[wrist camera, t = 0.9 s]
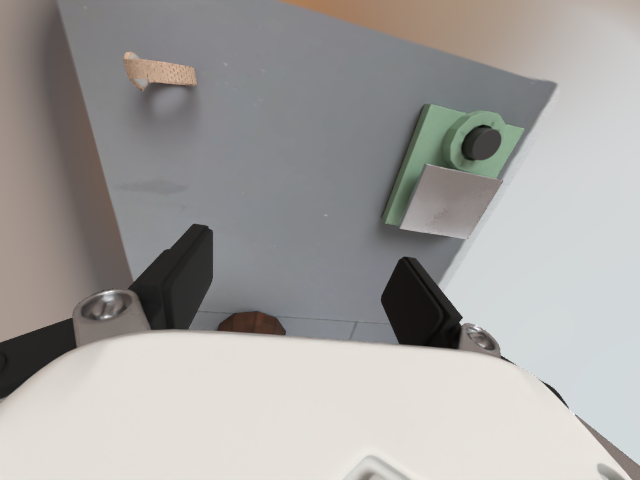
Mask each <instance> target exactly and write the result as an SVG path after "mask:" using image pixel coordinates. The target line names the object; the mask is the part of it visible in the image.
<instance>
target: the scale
mask: <svg viewBox="0 0 640 480" xmlns="http://www.w3.org/2000/svg"><path fill="white" fill-rule="evenodd" d="M477 128H488V129H495V130H497V131H499V132H500V134H501V138H502V139H501V145H500V147H499V149H498V150H497V152H496V153H495V154H494V155H493V156H492V157H490V158H488V159H486V160H476V159H473V158H469V157H467V156H465V155H464V154H463V151H462V144H463V141H464V139H465V137H466V136H467V135H468V134H469V133H470V132H471V131H473V130H474V129H477ZM523 131H524V129H523V128H519V127H515V126H511V125H508V124H505V123H504V122H503V120H502V118H501V116H500V115H499V114H496V113H492V112H489V111H474V112H472V113H469V114H466V113H463V112H459V111H455V110H451V109H448V108H444V107H440V106H436V105H433V104H425V105H424V107H423V110H422V112H421V115H420V118H419V120H418V123H417V126H416V128H415V131H414V134H413V137H412V139H411V142H410V145H409V147H408V150H407V153H406V155H405V158H404V161H403V163H402V166H401V169H400V171H399V174H398V177H397V179H396V182H395V185H394V187H393V190H392V193H391V196H390V198H389V201H388V204H387V206H386V209H385V212H384V214H383V217H382V220H383V221H384V223H386V224H392V225H399V223H400V221H401V218H402V216H403V213H404V211H405V209H406V206H407V204H408V202H409V199H410V197H411V194H412V192H413V190H414V187H415V185H416V182H417V180H418V178H419V175H420V173H421V171H422V168H423V166H424V164H425V163H427V164H431V165H436V166H441V167H445V168H450V169H455V170H459V171H464V172H469V173H473V174H478V175H483V176H487V177H492V178H496V177H497V175H498V174H499V172H500V170H501V168H502V167H503V165H504V163H505V162H506V160H507V158H508V157H509V155H510V153H511V151H512V150H513V148H514V146H515V145H516V143H517V141H518V140H519V138H520V136H521V134H522V133H523Z"/></svg>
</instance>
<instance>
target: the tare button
mask: <svg viewBox="0 0 640 480" xmlns="http://www.w3.org/2000/svg"><path fill="white" fill-rule="evenodd" d="M501 139H502V138H501V134H500V132H499V131H497V130H495V129H488V128H477V129H474V130H473V131H471V132H470V133H469V134H468V135H467V136H466V137H465V139H464V141H463V144H462V151H463V154H464V155H465V156H467V157H469V158H473V159H476V160H486V159H488V158H490V157H492V156H493V155H494V154H495V153H496V152H497V150H498V149H499V147H500V145H501Z"/></svg>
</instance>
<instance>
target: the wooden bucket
mask: <svg viewBox="0 0 640 480" xmlns="http://www.w3.org/2000/svg"><path fill="white" fill-rule="evenodd" d="M217 331H225V332H242V333H256V334H270V335H284V336H285V334H286V331H285V329H284V328H283V327H282V325H281V324H280V322H279V321H278V319H277V318H274V317H271V316H268V315H266V314H263V313H260V312H245V313H235V314H233V315H232V316H230V317H229V318H227V319H226V320H224V321H223V322H221V323H220V324H219V327H218V330H217Z"/></svg>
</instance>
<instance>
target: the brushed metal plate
mask: <svg viewBox="0 0 640 480" xmlns="http://www.w3.org/2000/svg"><path fill="white" fill-rule="evenodd" d="M502 182H503V180H501V179H497V178H492V177H487V176H483V175H478V174H473V173H469V172H464V171H459V170H455V169H450V168H445V167H441V166H436V165H431V164H427V163H425V164H424V166H423V168H422V171H421V173H420V175H419V178H418V180H417V182H416V185H415V187H414V190H413V192H412V194H411V197H410V199H409V202H408V204H407V206H406V209H405V211H404V213H403V216H402V218H401V221H400V223H399V225H398V227H399V229H405V230H411V231H418V232H424V233H431V234H438V235H444V236H451V237H457V238H464V239H468V238H469V236H470V235H471V233H472V232H473V230H474V228H475V227H476V225H477V223H478V222H479V220H480V218H481V217H482V215H483V214H484V212H485V210H486V209H487V207H488V205H489V204H490V202H491V200H492V199H493V197H494V195H495V194H496V192H497V191H498V189H499V187H500V186H501V184H502Z"/></svg>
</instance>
